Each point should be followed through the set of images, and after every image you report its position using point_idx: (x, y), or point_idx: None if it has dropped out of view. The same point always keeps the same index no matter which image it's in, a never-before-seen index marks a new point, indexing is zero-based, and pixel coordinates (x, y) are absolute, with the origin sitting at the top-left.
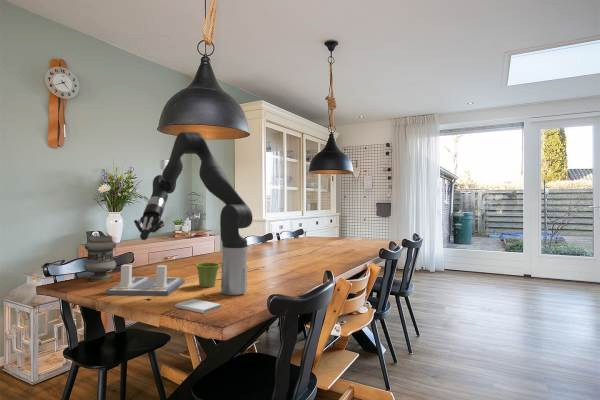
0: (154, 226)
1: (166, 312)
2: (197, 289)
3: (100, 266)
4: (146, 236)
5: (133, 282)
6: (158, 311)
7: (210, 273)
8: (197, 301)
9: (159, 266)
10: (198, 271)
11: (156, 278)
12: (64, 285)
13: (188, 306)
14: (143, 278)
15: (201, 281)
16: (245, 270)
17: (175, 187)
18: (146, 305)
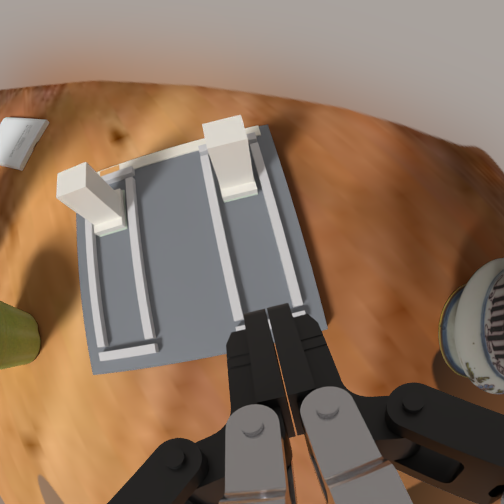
0: (147, 495)
1: (58, 93)
2: (33, 282)
3: (476, 276)
4: (229, 340)
5: (257, 250)
6: (72, 90)
7: None
8: (12, 152)
9: (76, 167)
10: (4, 310)
11: (107, 185)
12: (480, 196)
13: (24, 119)
14: None
15: (18, 309)
16: None
17: None
18: (104, 102)
